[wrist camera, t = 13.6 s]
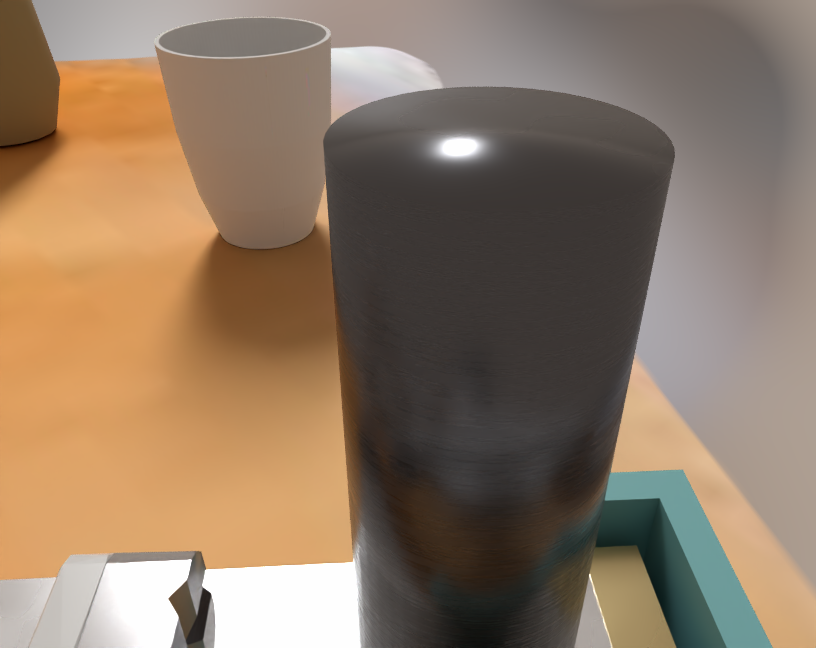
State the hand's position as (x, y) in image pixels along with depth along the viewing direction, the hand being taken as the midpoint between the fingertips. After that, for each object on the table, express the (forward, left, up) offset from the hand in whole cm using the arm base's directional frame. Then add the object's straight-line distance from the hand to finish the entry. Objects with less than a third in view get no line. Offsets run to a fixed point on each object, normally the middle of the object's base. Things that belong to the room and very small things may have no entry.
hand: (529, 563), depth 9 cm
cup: (+6, +31, -10) cm, 33 cm away
